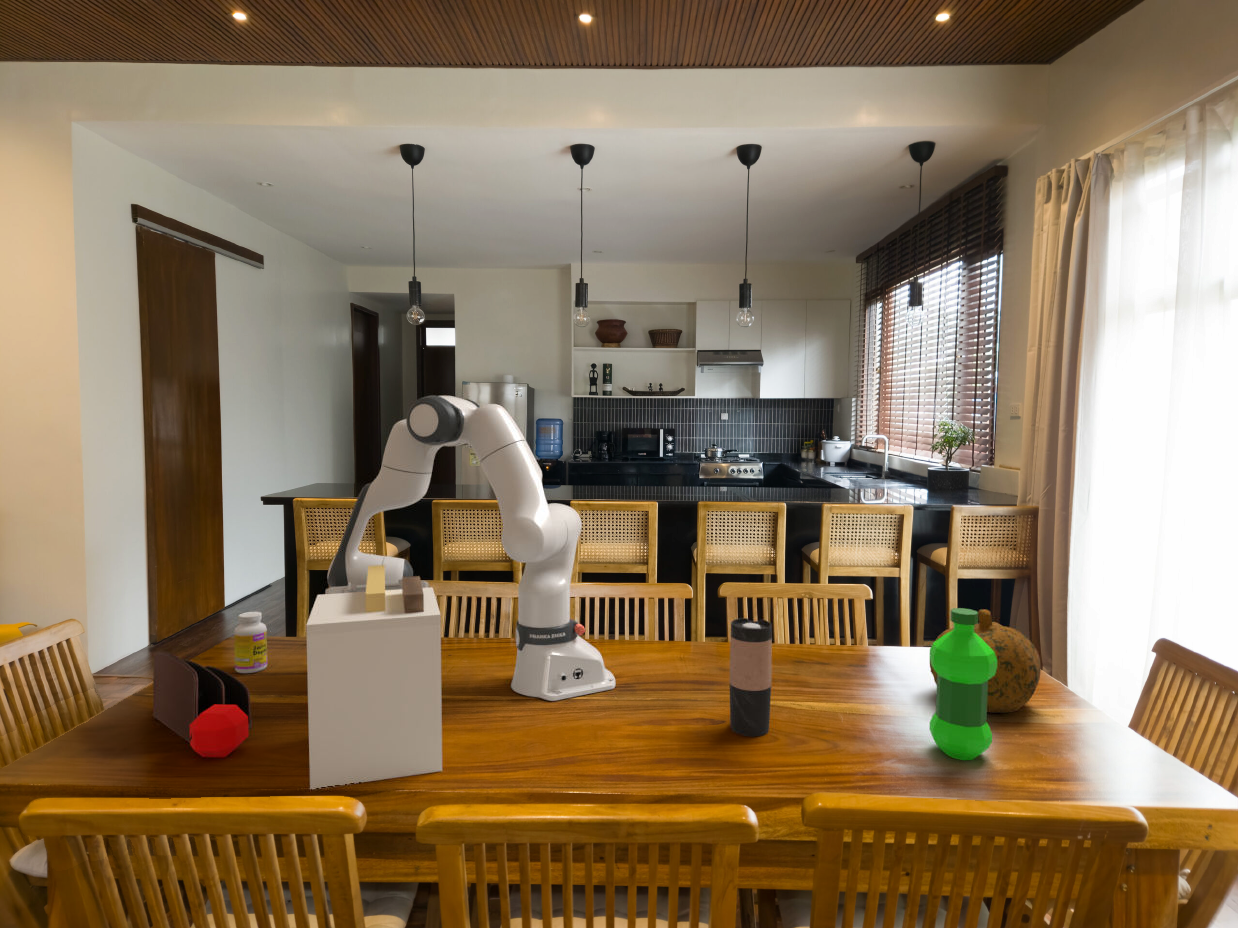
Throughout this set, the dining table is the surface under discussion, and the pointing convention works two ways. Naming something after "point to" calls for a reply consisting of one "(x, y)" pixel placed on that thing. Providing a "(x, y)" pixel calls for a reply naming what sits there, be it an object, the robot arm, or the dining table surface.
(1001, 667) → the decorative pumpkin
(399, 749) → the off-white stand
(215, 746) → the ball
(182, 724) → the letter holder
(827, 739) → the dining table surface
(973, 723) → the plastic bottle
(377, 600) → the ochre bar
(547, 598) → the robot arm
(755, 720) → the travel mug
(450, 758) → the dining table surface
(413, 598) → the walnut bar
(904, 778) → the dining table surface
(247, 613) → the supplement bottle
